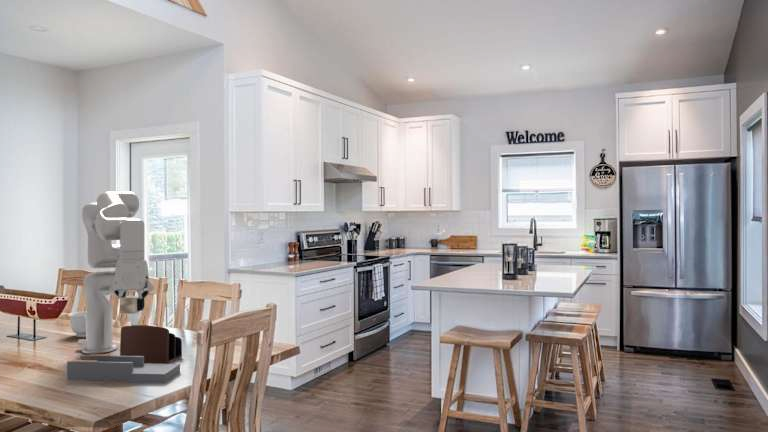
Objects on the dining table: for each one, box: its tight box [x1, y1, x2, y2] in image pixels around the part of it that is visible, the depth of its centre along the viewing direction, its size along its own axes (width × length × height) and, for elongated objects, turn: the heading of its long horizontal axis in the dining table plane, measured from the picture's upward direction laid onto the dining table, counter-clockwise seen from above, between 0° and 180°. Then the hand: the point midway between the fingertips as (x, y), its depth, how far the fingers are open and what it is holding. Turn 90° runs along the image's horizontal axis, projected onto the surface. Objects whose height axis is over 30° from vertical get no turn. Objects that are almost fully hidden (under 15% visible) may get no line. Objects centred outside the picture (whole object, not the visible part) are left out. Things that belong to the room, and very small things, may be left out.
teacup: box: [67, 310, 86, 338], centre depth 248 cm, size 12×15×10 cm
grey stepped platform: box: [66, 353, 181, 384], centre depth 188 cm, size 34×12×6 cm, turn 87°
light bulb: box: [126, 310, 143, 326], centre depth 261 cm, size 7×7×11 cm
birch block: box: [119, 295, 143, 314], centre depth 185 cm, size 5×5×5 cm
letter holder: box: [119, 324, 183, 364], centre depth 209 cm, size 10×20×14 cm, turn 80°
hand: (132, 309), depth 185 cm, fingers closed on birch block, 5 cm apart
